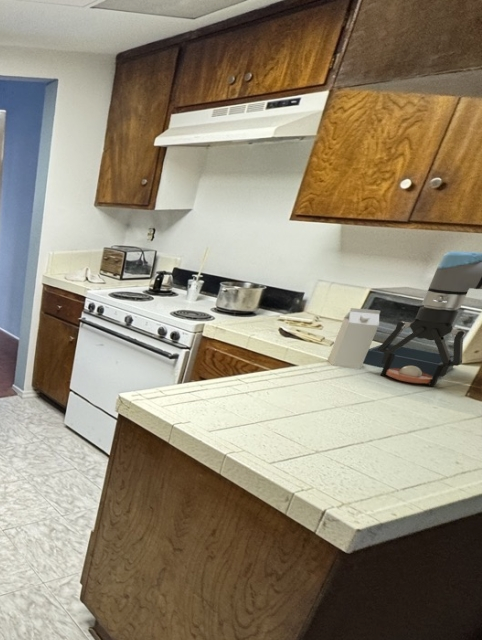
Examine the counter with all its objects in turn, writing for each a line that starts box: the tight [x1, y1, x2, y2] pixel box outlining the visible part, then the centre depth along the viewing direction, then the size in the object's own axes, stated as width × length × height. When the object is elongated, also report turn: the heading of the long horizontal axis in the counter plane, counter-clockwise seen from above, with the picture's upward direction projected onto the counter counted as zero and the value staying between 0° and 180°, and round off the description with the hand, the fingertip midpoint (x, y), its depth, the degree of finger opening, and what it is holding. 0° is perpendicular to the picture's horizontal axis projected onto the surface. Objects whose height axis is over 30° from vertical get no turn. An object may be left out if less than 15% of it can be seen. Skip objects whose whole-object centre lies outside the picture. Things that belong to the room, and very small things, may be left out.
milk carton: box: [327, 307, 381, 370], centre depth 153 cm, size 7×7×19 cm
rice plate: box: [385, 366, 433, 384], centre depth 141 cm, size 10×10×5 cm
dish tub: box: [362, 343, 454, 376], centre depth 155 cm, size 18×18×5 cm
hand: (407, 380), depth 142 cm, fingers closed on rice plate, 10 cm apart
